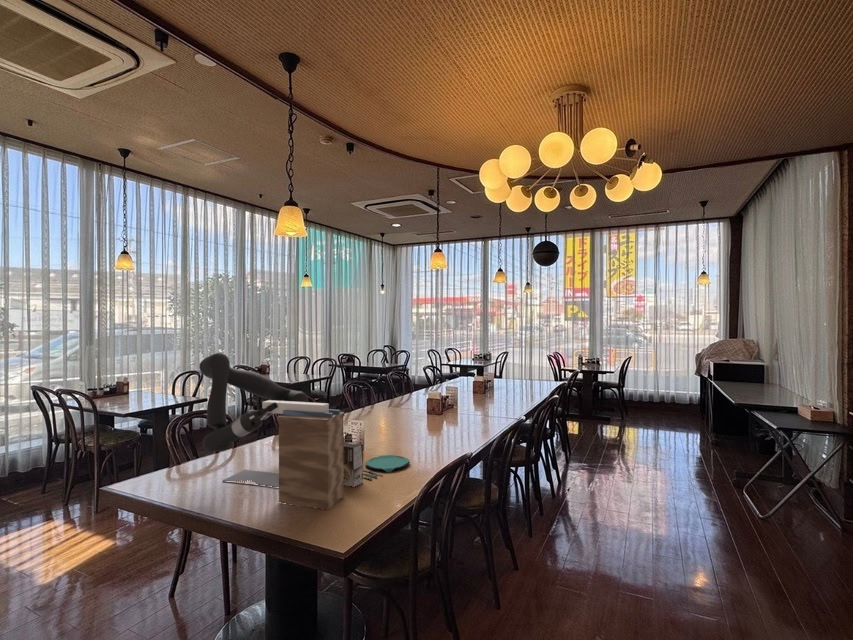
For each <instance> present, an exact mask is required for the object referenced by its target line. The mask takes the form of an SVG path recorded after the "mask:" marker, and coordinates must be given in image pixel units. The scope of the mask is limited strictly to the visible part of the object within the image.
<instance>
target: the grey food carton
mask: <svg viewBox="0 0 853 640" xmlns="http://www.w3.org/2000/svg"><path fill="white" fill-rule="evenodd" d="M363 470H364V444H363V443H359V442H353V441H343V486H346V487H350V486H352V487H351V488H355V486H356V487H357V485H358V486H359V484H360V485H362V484H364V479H363V477H364V474H363V473H364V471H363ZM361 483H362V484H361Z"/></svg>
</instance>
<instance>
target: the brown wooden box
mask: <svg viewBox="0 0 853 640" xmlns="http://www.w3.org/2000/svg"><path fill="white" fill-rule="evenodd" d="M345 414H346V413H345V411H341V410H340V409H331V408H329V413H325V412H308V411H292V410H283V414H280V415H278V416H277V417H276V421H277V422H278V473H279V488H278V503H279V502H281V503H286V504H292V505H291V506H294V505H298V506H297V507H301V506H307V507H306V508H309V507H316V508H315V509H317V508H323V509H322V510H325V509H328V510H330V509H331V508H332V507H333V506H335V505H336V504H337V503H338V502H340V499H341V498H342V499H343V498H344V485H343V443H344V417H346V415H345ZM342 499H341V500H342ZM336 502H337V503H336ZM335 503H336V504H335ZM286 504H285V505H286ZM334 504H335V505H334ZM330 507H331V508H330ZM329 508H330V509H329Z"/></svg>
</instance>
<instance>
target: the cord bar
mask: <svg viewBox="0 0 853 640" xmlns="http://www.w3.org/2000/svg"><path fill="white" fill-rule="evenodd" d="M274 402H276V403H277V405H278V407H277V408H276V409H274V410H272V411H271V412H270V413H274V414H280V415H283V410H292V411H308V412H325V413H329V409H330V408H329V407H330V403H326V402H312V401H311V402H309V401H308V402H293V401H274V400H270V399H267V400H265V401H262V403H261V404H262V406H261V408H265V407H267V406H269V405H271V404H272V403H274Z"/></svg>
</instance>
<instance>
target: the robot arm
mask: <svg viewBox="0 0 853 640" xmlns="http://www.w3.org/2000/svg"><path fill="white" fill-rule="evenodd" d="M198 367H199V371H200V372H201V374H202V375H203V376H204V377H206V378H208V379H211V389H210V393H209V397H208V400H207V404H206V425H207V426H208V427H209V428H212V429H213V431H210V432H209V433H207V434H206V435H205V436H204V437H203V439H202V448H203V449H204V450H205V451H207V452H221V451H223V452H224V451H226V450H228V449H229V447H230V445H231V443H233V442H235V441H238V440H239V439H241V438H242V437H245V436H248V435H249V434H251V433H253V432H254V431H256V430H258V429H259V428H260V427H262V426H263V423H264V420H267V419H268V418H269V417H270V416H273V415H274V414H275V413H270V412H271V411H272V410H274V409H276V408H277V407H278V405H277V403H276V402H274V403H272V404H271V405H269V406H267V407H265V408H262V407H261V408H259V409H258V410H255V409H250V410H249V411H246V412H245V413H244V414H242V415H240V416H239V417H237V418H236V419H235V420H234V421H232V422H230V423H227V389H228V385H230V386H233V387H235V388H238V389H239V390H241V391H245V392H247V393H249V394H251V395H254V396H256V397H260V398H263V399H267V400H274V401H293V402H309V398H308V397H309V396H308V395H307V394H306V393H304V392H303V391H298V390H294V389H290V388H286V387H283V386H281V385H279V384H277V383H276V382H275V381H273V380H272V379H271V378H268V377H267V376H265V375H263V374H260V373H259V372H255V371H250V370H245V369H244V370H243V369H237V368H235V367H231V362H230V359H229V357H228V356H227V355H226V354H224V353H223V352H216V353H214V354H211V355H209V356H207V357H204V358H203V359H202V360H201V362H200V363H199V366H198Z"/></svg>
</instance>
